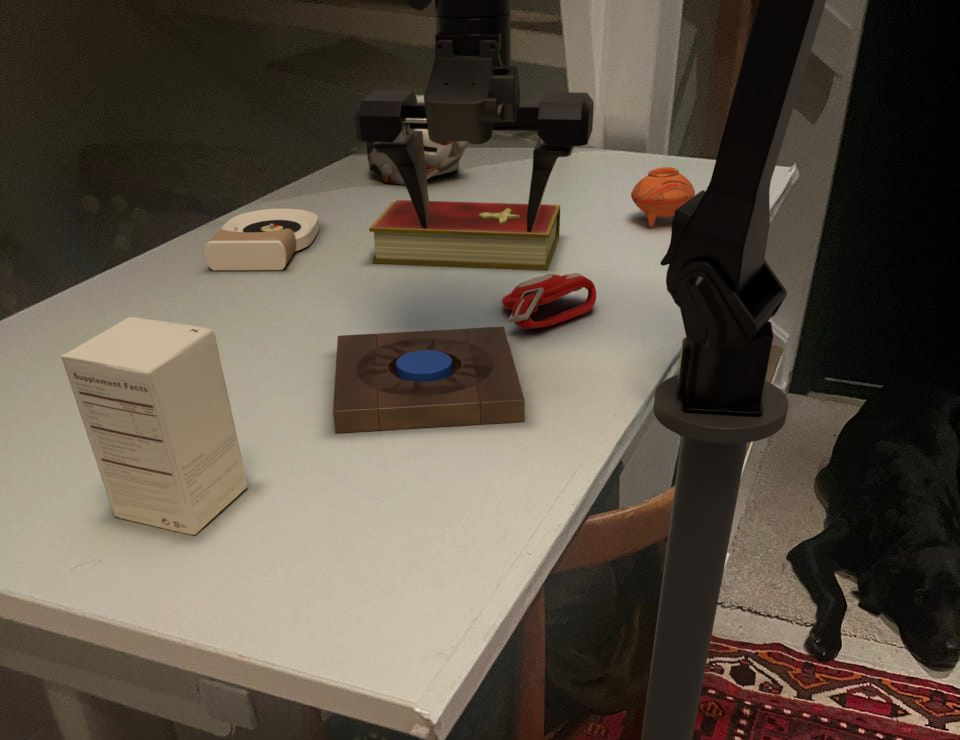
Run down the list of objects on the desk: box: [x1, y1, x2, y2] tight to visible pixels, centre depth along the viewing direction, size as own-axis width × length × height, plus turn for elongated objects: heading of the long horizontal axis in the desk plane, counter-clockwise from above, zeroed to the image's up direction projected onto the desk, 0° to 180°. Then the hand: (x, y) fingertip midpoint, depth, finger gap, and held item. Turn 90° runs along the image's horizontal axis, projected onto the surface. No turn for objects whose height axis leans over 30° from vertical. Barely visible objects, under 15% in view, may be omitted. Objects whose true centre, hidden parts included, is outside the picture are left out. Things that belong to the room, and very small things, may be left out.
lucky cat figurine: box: [365, 94, 469, 186], centre depth 134 cm, size 15×12×14 cm
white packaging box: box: [60, 316, 249, 536], centre depth 66 cm, size 7×7×13 cm
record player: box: [204, 208, 320, 271], centre depth 115 cm, size 12×3×20 cm
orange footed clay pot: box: [630, 166, 696, 228], centre depth 118 cm, size 8×8×7 cm
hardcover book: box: [368, 199, 561, 271], centre depth 112 cm, size 12×21×4 cm, turn 80°
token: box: [396, 350, 453, 382], centre depth 83 cm, size 5×5×2 cm
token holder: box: [332, 326, 526, 434], centre depth 84 cm, size 16×16×2 cm
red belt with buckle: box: [501, 272, 597, 330], centre depth 95 cm, size 12×4×10 cm
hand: (477, 229), depth 80 cm, fingers open, 9 cm apart
